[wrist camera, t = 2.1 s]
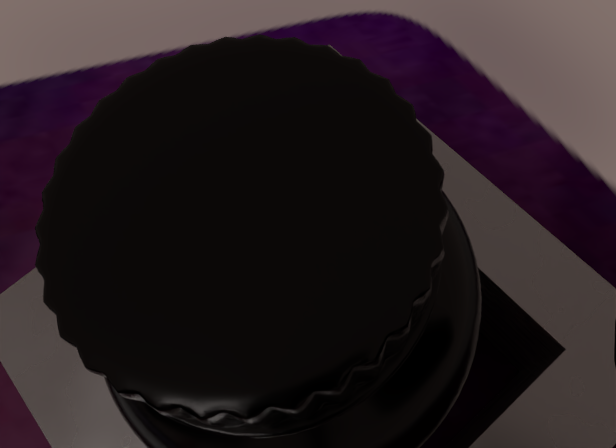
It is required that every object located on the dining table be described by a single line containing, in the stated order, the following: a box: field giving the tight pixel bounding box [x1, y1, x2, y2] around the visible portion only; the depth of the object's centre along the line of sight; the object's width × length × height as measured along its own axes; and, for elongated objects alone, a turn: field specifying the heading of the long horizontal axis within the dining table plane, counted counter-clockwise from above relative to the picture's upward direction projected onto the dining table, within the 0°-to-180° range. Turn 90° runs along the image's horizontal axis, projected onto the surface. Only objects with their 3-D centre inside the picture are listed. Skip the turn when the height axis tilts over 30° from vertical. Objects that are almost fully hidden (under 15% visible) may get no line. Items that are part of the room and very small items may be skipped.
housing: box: [0, 45, 616, 448], centre depth 15 cm, size 13×13×4 cm
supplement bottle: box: [35, 35, 482, 448], centre depth 12 cm, size 7×7×12 cm
